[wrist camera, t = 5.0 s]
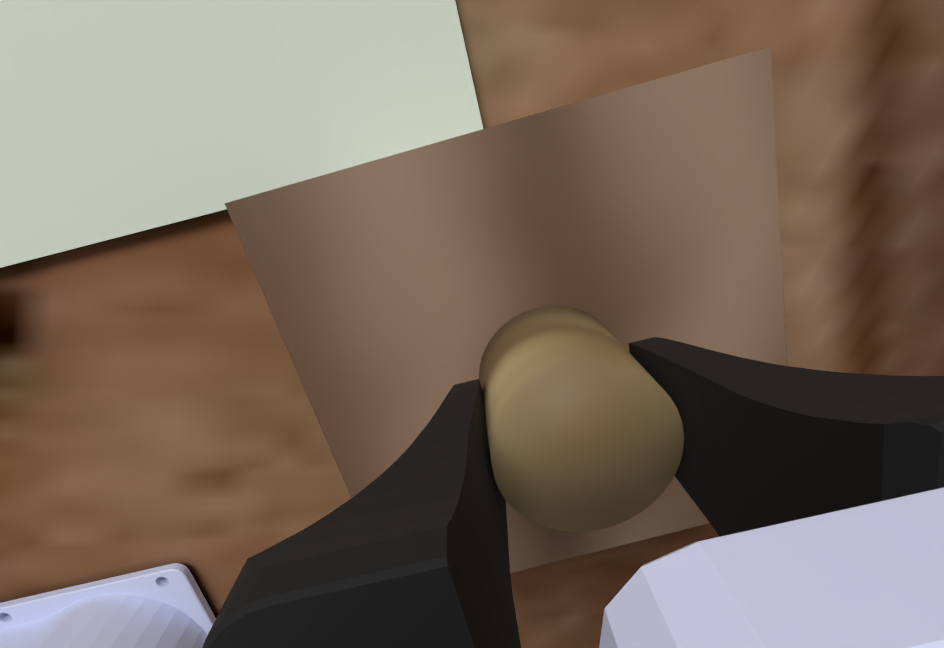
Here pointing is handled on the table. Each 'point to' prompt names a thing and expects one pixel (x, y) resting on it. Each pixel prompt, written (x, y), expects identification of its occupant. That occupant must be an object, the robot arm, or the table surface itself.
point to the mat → (207, 105)
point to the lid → (538, 293)
